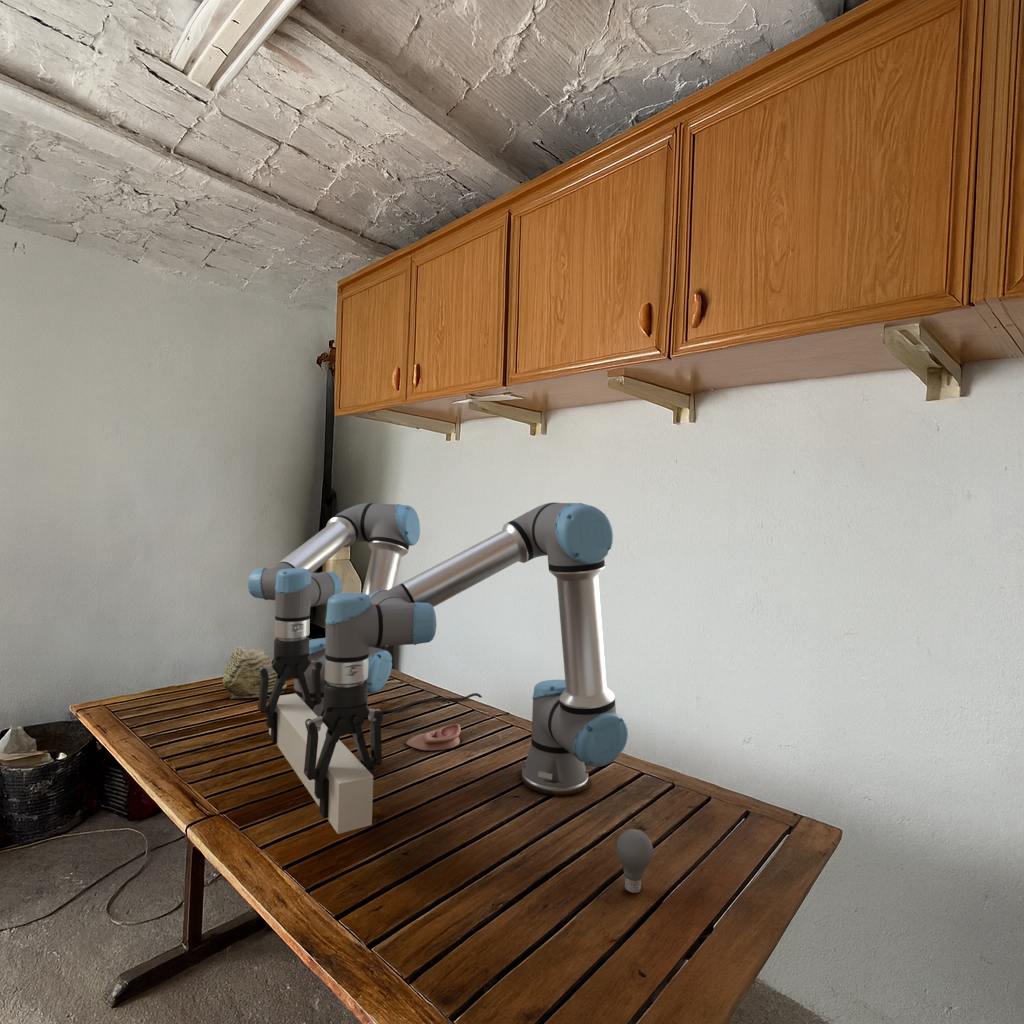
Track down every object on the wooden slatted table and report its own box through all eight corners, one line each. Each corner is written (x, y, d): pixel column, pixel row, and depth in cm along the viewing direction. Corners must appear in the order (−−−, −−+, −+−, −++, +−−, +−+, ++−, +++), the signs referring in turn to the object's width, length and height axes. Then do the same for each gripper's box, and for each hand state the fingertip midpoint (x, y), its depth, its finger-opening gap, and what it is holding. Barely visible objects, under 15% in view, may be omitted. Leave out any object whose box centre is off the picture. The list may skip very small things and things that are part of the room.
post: (268, 733, 148) (269, 696, 147) (295, 728, 151) (296, 693, 151) (337, 834, 106) (339, 783, 105) (372, 825, 109) (373, 775, 109)
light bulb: (610, 879, 108) (613, 822, 108) (644, 879, 109) (647, 822, 109) (619, 902, 102) (622, 840, 102) (655, 901, 103) (658, 840, 103)
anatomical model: (402, 732, 161) (417, 717, 172) (401, 747, 161) (417, 732, 172) (452, 738, 158) (464, 723, 170) (451, 754, 158) (464, 737, 170)
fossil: (218, 695, 195) (220, 647, 195) (278, 685, 208) (279, 640, 207) (228, 703, 189) (230, 653, 188) (289, 692, 201) (290, 645, 201)
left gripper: (250, 645, 135) (247, 752, 135) (338, 637, 145) (335, 736, 146) (243, 637, 141) (241, 740, 142) (329, 630, 151) (326, 726, 152)
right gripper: (297, 695, 104) (293, 833, 104) (404, 679, 114) (400, 806, 115) (285, 682, 110) (282, 813, 111) (388, 669, 121) (384, 789, 121)
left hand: (289, 738), depth 144 cm, fingers closed on post, 6 cm apart
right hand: (342, 809), depth 113 cm, fingers closed on post, 6 cm apart
